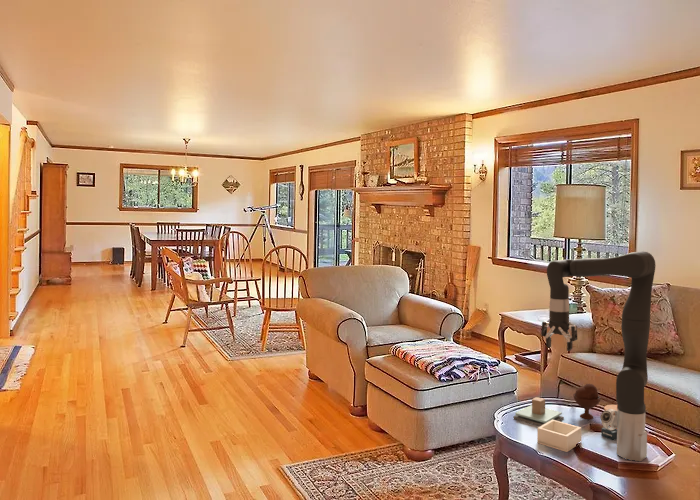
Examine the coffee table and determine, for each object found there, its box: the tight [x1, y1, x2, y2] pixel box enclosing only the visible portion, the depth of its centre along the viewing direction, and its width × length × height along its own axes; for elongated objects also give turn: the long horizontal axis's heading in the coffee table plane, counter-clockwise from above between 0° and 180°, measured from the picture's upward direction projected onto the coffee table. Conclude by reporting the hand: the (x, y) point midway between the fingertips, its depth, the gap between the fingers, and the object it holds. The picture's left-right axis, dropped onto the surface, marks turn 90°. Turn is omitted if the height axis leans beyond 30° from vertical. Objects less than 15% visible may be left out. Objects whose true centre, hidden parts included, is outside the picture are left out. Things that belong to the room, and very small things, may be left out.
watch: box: [600, 409, 617, 441], centre depth 228 cm, size 6×8×11 cm
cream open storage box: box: [536, 420, 582, 453], centre depth 224 cm, size 12×12×6 cm
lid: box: [514, 396, 563, 423], centre depth 248 cm, size 14×14×8 cm
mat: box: [513, 415, 565, 427], centre depth 249 cm, size 16×14×1 cm
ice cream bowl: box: [573, 383, 602, 421], centre depth 249 cm, size 11×11×15 cm
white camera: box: [603, 404, 618, 428], centre depth 238 cm, size 11×11×9 cm
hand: (558, 348), depth 233 cm, fingers open, 8 cm apart
